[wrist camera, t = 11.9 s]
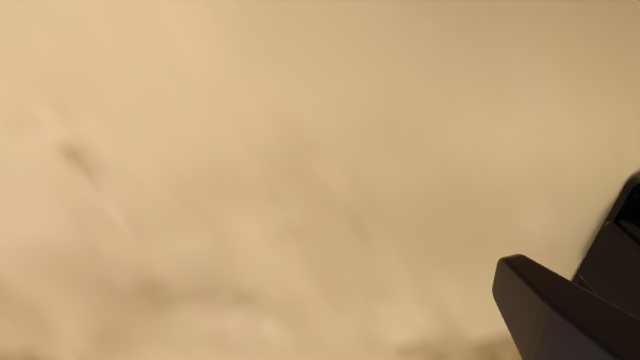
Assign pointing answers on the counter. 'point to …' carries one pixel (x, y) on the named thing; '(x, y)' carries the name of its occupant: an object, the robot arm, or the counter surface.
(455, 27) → the counter surface
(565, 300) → the robot arm
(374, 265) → the counter surface
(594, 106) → the counter surface
